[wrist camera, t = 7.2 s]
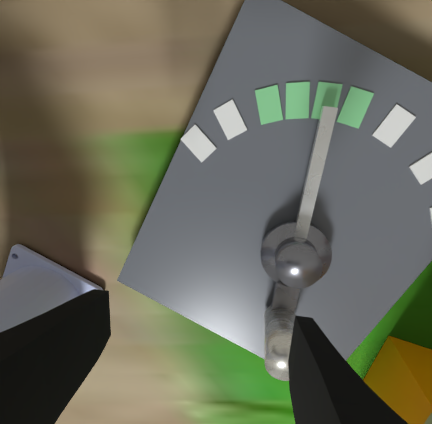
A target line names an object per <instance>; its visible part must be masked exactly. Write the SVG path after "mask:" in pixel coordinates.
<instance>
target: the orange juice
mask: <svg viewBox="0 0 432 424" xmlns="http://www.w3.org/2000/svg"><path fill="white" fill-rule="evenodd" d="M363 381H364V382H365V383H366V384H367V385H368V386H369V387H370V388H371V389H372V390H373V391H374V392H375V393H376V394H377V395H378V396H379V397H380V398H381V399H382V400H383V401H384V402H385V403H386V404H387V405H388V406H389V407H390V408H391V409H392V410H394V411H395V412H396V413H397V414H398V415H399V416H400V417H401V418H402V419H404V420H405V421H406V422H407V423H408V424H432V350H431V349H428V348H425V347H422V346H419V345H416V344H413V343H410V342H407V341H404V340H401V339H398V338H395V337H392V336H389V335H388V337H387V339H386V341H385V342H384V344H383V346H382V348H381V349H380V351H379V353H378V355H377V356H376V358H375V360H374V362H373V363H372V365H371V367H370V369H369V370H368V372H367V374H366V376H365V377H364V379H363Z"/></svg>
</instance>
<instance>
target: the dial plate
mask: <svg viewBox="0 0 432 424" xmlns="http://www.w3.org/2000/svg"><path fill="white" fill-rule="evenodd" d="M322 106H328V107H335V108H338V111H337V115H336V119H335V123H334V127H333V131H332V135H331V140H330V144H329V148H328V152H327V156H326V160H325V164H324V169H323V173H322V177H321V181H320V185H319V189H318V193H317V197H316V202H315V206H314V210H313V214H312V218H311V222H310V223H311V224H313V225H315V226H316V227H318V228H319V229H320V230H321V231H322V232H323V233H324V235H325V236H326V238H327V240H328V241H329V243H330V246H331V250H332V260H331V264H330V267H329V269H328V271H327V272H326V274H325V275H324V276H323V277H322V278H321V279H319V280H318V281H317V282H316V283H314V284H313V285H311V286H309V287H306V288H301V289H300V293H299V297H298V301H297V305H296V309H295V314H296V316H303V317H310V318H313V319H314V321H315V322H316V323H317V324H318V326H319V327H320V328H321V330H322V331H323V332H324V334H325V335H326V337H327V338H328V339H329V340H330V342H331V343H332V344H333V346H334V347H335V348H336V349H337V351H338V352H339V353H340V354H341V356H342V357H343V358H344V359H345V361H346V360H347V359H348V357H349V356H350V355H351V354H352V353H353V352H354V350H355V349H356V348H357V347H358V346H359V345H360V343H361V342H362V341H363V340H364V339H365V338H366V336H367V335H368V334H369V333H370V332H371V331H372V330H373V328H374V327H375V326H376V325H377V324H378V323H379V321H380V320H381V319H382V318H383V317H384V316H385V314H386V313H387V312H388V311H389V310H390V309H391V307H392V306H393V305H394V304H395V303H396V302H397V300H398V299H399V298H400V297H401V296H402V295H403V293H404V292H405V291H406V290H407V289H408V288H409V286H410V285H411V284H412V283H413V282H414V281H415V279H416V278H417V277H418V276H419V275H420V274H421V273H422V271H423V270H424V269H425V268H426V267H427V266H428V264H429V263H430V262H431V261H432V82H430V81H428V80H427V79H425V78H423V77H421V76H419V75H417V74H416V73H414V72H412V71H410V70H408V69H406V68H405V67H403V66H401V65H399V64H397V63H395V62H393V61H392V60H390V59H388V58H386V57H384V56H382V55H381V54H379V53H377V52H375V51H373V50H371V49H370V48H368V47H366V46H364V45H362V44H360V43H359V42H357V41H355V40H353V39H351V38H349V37H348V36H346V35H344V34H342V33H340V32H338V31H337V30H335V29H333V28H331V27H329V26H327V25H326V24H324V23H322V22H320V21H318V20H316V19H314V18H313V17H311V16H309V15H307V14H305V13H303V12H302V11H300V10H298V9H296V8H294V7H292V6H291V5H289V4H287V3H285V2H283V1H281V0H245V1H244V3H243V5H242V7H241V10H240V12H239V14H238V16H237V18H236V21H235V23H234V25H233V27H232V29H231V32H230V34H229V36H228V38H227V40H226V43H225V45H224V47H223V49H222V51H221V53H220V56H219V58H218V60H217V62H216V64H215V67H214V69H213V71H212V73H211V75H210V78H209V80H208V82H207V84H206V86H205V89H204V91H203V93H202V95H201V97H200V100H199V102H198V104H197V106H196V108H195V111H194V113H193V115H192V117H191V119H190V121H189V124H188V126H187V128H186V130H185V132H184V135H183V137H182V138H181V141H180V143H179V146H178V148H177V150H176V152H175V154H174V157H173V159H172V161H171V163H170V165H169V168H168V170H167V172H166V174H165V176H164V179H163V181H162V183H161V185H160V187H159V189H158V192H157V194H156V196H155V198H154V200H153V203H152V205H151V207H150V209H149V211H148V214H147V216H146V218H145V220H144V222H143V225H142V227H141V229H140V231H139V233H138V236H137V238H136V240H135V242H134V244H133V247H132V249H131V251H130V253H129V255H128V257H127V260H126V262H125V264H124V266H123V268H122V271H121V273H120V275H119V277H118V279H117V281H119V282H121V283H123V284H125V285H126V286H128V287H130V288H132V289H134V290H136V291H138V292H140V293H141V294H143V295H145V296H147V297H149V298H151V299H153V300H155V301H156V302H158V303H160V304H162V305H164V306H166V307H168V308H170V309H171V310H173V311H175V312H177V313H179V314H181V315H183V316H185V317H186V318H188V319H190V320H192V321H194V322H196V323H198V324H200V325H202V326H203V327H205V328H207V329H209V330H211V331H213V332H215V333H217V334H218V335H220V336H222V337H224V338H226V339H228V340H230V341H232V342H233V343H235V344H237V345H239V346H241V347H243V348H245V349H247V350H248V351H250V352H252V353H254V354H256V355H258V356H260V357H262V358H263V359H265V343H264V313H265V310H266V309H267V308H268V307H269V306H270V305H271V302H272V297H273V292H274V288H275V283H276V281H274V280H273V279H271V278H270V277H269V276H268V274H267V273H266V272H265V270H264V268H263V266H262V263H261V245H262V241H263V239H264V237H265V236H266V234H267V233H268V232H269V231H270V230H271V229H272V228H273V227H275V226H276V225H278V224H280V223H282V222H286V221H291V220H296V218H297V214H298V209H299V205H300V201H301V196H302V192H303V187H304V183H305V178H306V174H307V170H308V165H309V161H310V156H311V152H312V147H313V143H314V139H315V134H316V130H317V125H318V121H319V116H320V112H321V108H322Z"/></svg>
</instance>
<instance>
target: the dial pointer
mask: <svg viewBox="0 0 432 424" xmlns="http://www.w3.org/2000/svg"><path fill="white" fill-rule="evenodd" d="M337 111H338V108H335V107H328V106H322V108H321V112H320V116H319V121H318V125H317V130H316V134H315V139H314V143H313V147H312V152H311V156H310V161H309V165H308V170H307V174H306V178H305V183H304V187H303V192H302V196H301V201H300V205H299V209H298V214H297V218H296V220H291V221H286V222H282V223H280V224H278V225H276V226H275V227H273V228H272V229H271V230H270V231H269V232H268V233H267V234H266V236H265V237H264V239H263V241H262V245H261V263H262V266H263V268H264V270H265V272H266V273H267V274H268V276H269V277H270V278H271V279H273V280H274V281H276V283H275V288H274V292H273V297H272V302H271V305H270V306H269V307H268V308H267V309H266V310H265V313H264V343H265V367H266V370H267V371H268V373H269V374H270V375H271V376H273V377H274V378H276V379H279V380H283V381H289V369H288V359H289V352H290V346H291V339H292V333H293V327H294V320H295V316H296V314H295V309H296V305H297V301H298V297H299V293H300V289H301V288H306V287H309V286H311V285H313V284H314V283H316V282H317V281H318V280H319V279H321V278H322V277H323V276H324V275H325V274H326V272H327V271H328V269H329V267H330V264H331V260H332V250H331V246H330V243H329V241H328V240H327V238H326V236H325V235H324V233H323V232H322V231H321V230H320V229H319V228H318V227H316V226H315V225H313V224H311V223H310V222H311V218H312V214H313V210H314V206H315V202H316V197H317V193H318V189H319V185H320V181H321V177H322V173H323V169H324V164H325V160H326V156H327V152H328V148H329V144H330V140H331V135H332V131H333V127H334V123H335V119H336V115H337Z"/></svg>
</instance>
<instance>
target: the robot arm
mask: <svg viewBox="0 0 432 424" xmlns="http://www.w3.org/2000/svg"><path fill="white" fill-rule="evenodd" d="M16 255H17V256H18V257H17V256H16ZM110 335H111V329H110V309H109V291H105V290H103V289H102V288H101V287H100V286H98V285H96V284H94V283H92V282H90V281H89V280H87V279H85V278H83V277H81V276H79V275H77V274H75V273H74V272H72V271H70V270H68V269H66V268H64V267H62V266H60V265H59V264H57V263H55V262H53V261H51V260H49V259H47V258H45V257H43V256H42V255H40V254H38V253H36V252H34V251H32V250H30V249H28V248H27V247H25V246H23V245H21V244H16V245H14V246H12V248H11V251H10V254H9V257H8V261H7V264H6V267H5V271H4V274H3V277H2V279H1V280H0V424H55V422H56V421H57V419H58V417H59V416H60V414H61V413H62V411H63V410H64V409H65V407H66V406H67V404H68V403H69V401H70V400H71V398H72V397H73V395H74V394H75V393H76V391H77V390H78V388H79V387H80V385H81V384H82V382H83V381H84V380H85V378H86V377H87V375H88V374H89V372H90V371H91V369H92V368H93V366H94V365H95V363H96V362H97V360H98V359H99V357H100V355H101V353H102V351H103V349H104V348H105V346H106V343H107V341H108V339H109V337H110ZM288 369H289V386H290V394H291V400H292V406H293V412H294V418H295V423H296V424H408V423H407V422H406V421H405V420H404V419H402V418H401V417H400V416H399V415H398V414H397V413H396V412H395V411H394V410H392V409H391V408H390V407H389V406H388V405H387V404H386V403H385V402H384V401H383V400H382V399H381V398H380V397H379V396H378V395H377V394H376V393H375V392H374V391H373V390H372V389H371V388H370V387H369V386H368V385H367V384H366V383H365V382H364V381H363V380H362V379H361V378H360V376H359V375H358V374H357V373H356V372H355V371H354V370H353V369H352V368H351V366H350V365H349V364H348V363H347V362H346V361H345V359H344V358H343V357H342V356H341V354H340V353H339V352H338V351H337V349H336V348H335V347H334V346H333V344H332V343H331V342H330V340H329V339H328V338H327V337H326V335H325V334H324V332H323V331H322V330H321V328H320V327H319V326H318V324H317V323H316V322H315V321H314V319H313V318H310V317H303V316H295V320H294V327H293V333H292V339H291V346H290V352H289V359H288Z"/></svg>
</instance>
